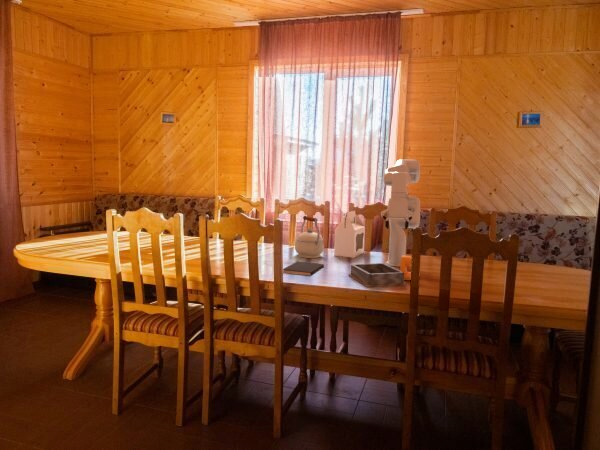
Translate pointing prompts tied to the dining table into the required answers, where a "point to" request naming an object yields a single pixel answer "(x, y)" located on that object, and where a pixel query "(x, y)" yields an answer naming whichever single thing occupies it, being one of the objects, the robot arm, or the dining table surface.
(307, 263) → the hardcover book
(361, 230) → the gable box
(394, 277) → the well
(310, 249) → the kettle
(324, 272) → the dining table surface
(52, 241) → the dining table surface
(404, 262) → the bracket
